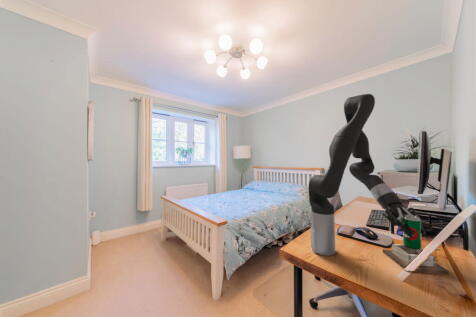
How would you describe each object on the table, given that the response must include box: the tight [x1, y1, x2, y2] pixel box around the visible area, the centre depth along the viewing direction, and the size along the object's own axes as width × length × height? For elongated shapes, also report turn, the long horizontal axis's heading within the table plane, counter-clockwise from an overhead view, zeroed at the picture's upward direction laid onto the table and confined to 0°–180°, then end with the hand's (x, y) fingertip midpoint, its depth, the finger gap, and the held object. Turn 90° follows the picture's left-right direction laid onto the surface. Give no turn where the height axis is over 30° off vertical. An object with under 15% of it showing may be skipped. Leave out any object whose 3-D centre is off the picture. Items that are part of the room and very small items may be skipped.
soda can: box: [402, 215, 423, 250], centre depth 69 cm, size 5×5×12 cm
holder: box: [382, 243, 450, 275], centre depth 68 cm, size 13×13×5 cm
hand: (417, 234), depth 67 cm, fingers closed on soda can, 5 cm apart
